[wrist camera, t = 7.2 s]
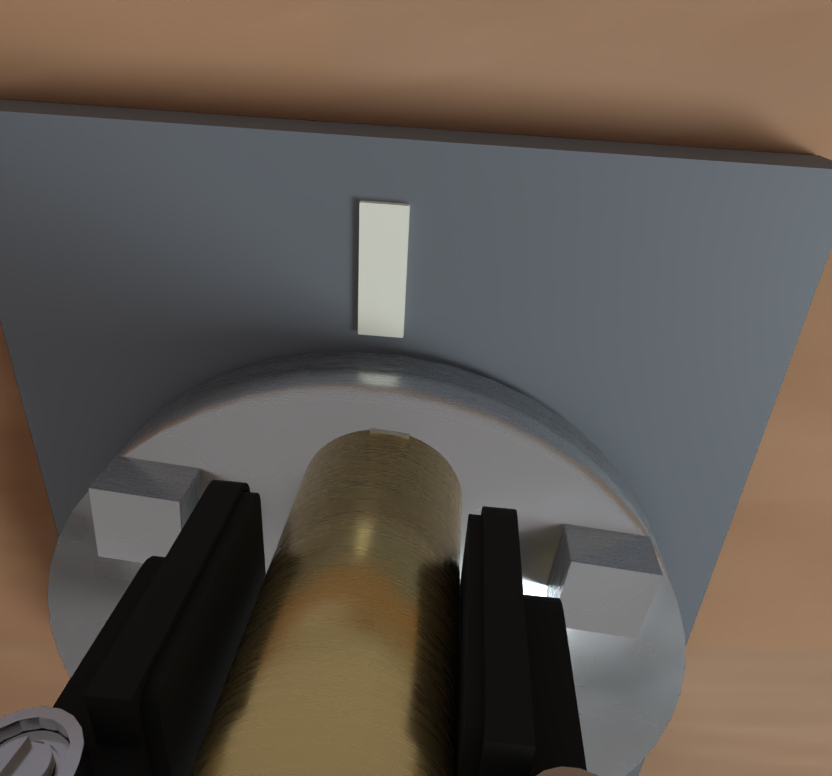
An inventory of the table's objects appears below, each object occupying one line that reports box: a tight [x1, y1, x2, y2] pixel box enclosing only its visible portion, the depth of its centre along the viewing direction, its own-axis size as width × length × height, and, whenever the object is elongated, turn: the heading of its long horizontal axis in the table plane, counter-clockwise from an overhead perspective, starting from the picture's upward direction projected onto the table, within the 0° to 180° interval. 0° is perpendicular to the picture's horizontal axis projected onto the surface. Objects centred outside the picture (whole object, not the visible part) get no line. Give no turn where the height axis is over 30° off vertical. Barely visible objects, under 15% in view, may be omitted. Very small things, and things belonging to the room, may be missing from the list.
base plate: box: [0, 99, 832, 776], centre depth 17 cm, size 22×16×2 cm
